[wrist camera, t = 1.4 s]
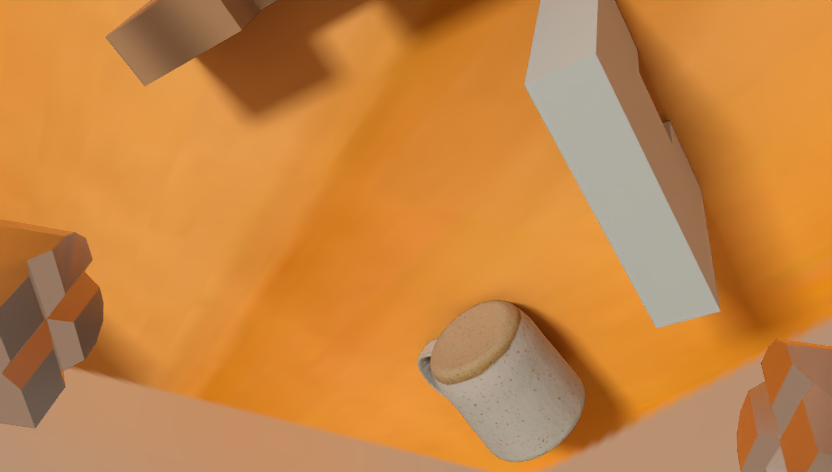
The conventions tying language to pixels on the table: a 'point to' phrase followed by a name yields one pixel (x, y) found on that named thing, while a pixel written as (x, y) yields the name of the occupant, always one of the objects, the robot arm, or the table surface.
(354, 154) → the table surface
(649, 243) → the grey flat block
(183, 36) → the walnut rail
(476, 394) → the ceramic mug
